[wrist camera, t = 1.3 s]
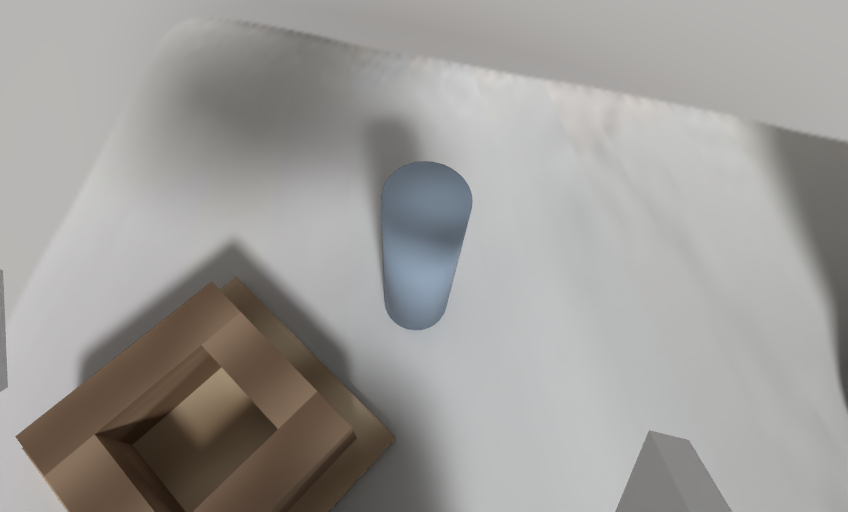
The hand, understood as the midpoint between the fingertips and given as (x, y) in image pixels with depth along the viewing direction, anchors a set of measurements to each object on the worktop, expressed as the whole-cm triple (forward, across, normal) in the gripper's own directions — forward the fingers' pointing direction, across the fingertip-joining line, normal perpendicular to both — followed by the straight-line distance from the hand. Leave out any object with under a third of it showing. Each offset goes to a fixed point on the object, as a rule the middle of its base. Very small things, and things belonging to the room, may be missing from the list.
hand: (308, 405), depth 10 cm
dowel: (+22, +1, -6) cm, 23 cm away
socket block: (+14, -8, -14) cm, 22 cm away
